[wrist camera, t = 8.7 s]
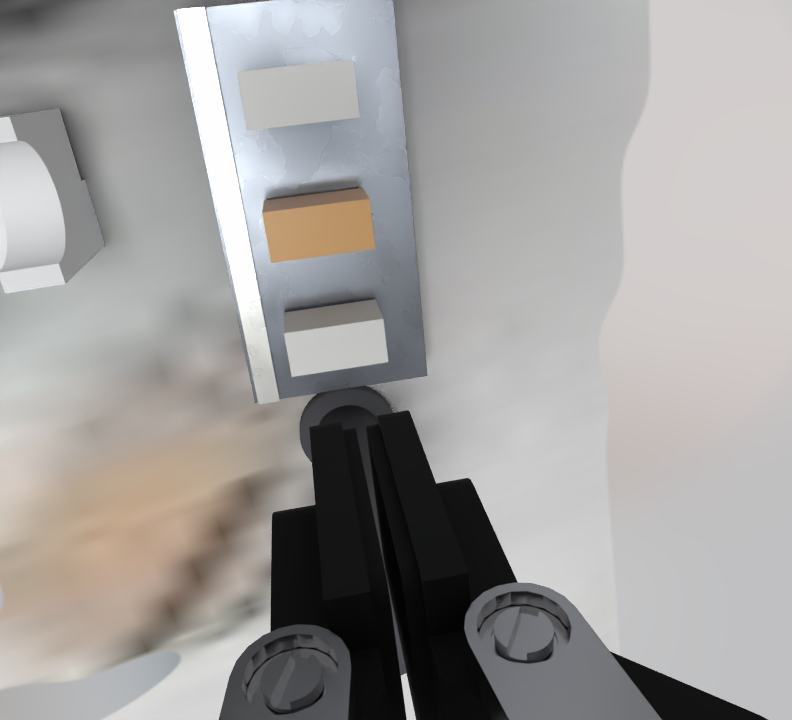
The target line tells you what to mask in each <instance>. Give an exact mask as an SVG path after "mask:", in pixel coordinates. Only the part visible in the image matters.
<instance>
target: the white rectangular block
mask: <svg viewBox="0 0 792 720" xmlns="http://www.w3.org/2000/svg"><path fill="white" fill-rule="evenodd" d="M284 337H285V343H286V348H287V354H288V359H289V365H290V370H291V376H292V377H295V376H302V375H308V374H315V373H321V372H328V371H334V370H341V369H347V368H354V367H360V366H367V365H373V364H379V363H386V362H388V355H387V346H386V337H385V329H384V320H383V317H382V314H381V312H380V309H379V306H378V304H377V301H376V299H373V300H366V301H360V302H353V303H346V304H339V305H332V306H325V307H318V308H311V309H304V310H297V311H291V312H284Z"/></svg>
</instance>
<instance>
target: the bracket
mask: <svg viewBox="0 0 792 720" xmlns="http://www.w3.org/2000/svg"><path fill="white" fill-rule="evenodd" d="M104 246H105V243H104V240H103V237H102V233H101V230H100V227H99V223H98V220H97V217H96V214H95V210H94V207H93V204H92V200H91V197H90V194H89V191H88V187H87V184H86V181H85V179H84V180H81V178H80V175H79V171H78V168H77V165H76V162H75V158H74V155H73V152H72V148H71V145H70V142H69V139H68V135H67V132H66V129H65V126H64V122H63V119H62V116H61V112H60V109H59V108H58V109H50V110H43V111H36V112H28V113H21V114H14V115H6V116H0V281H1V283H2V286H3V289H4V291H5V293H11V292H18V291H24V290H30V289H37V288H43V287H49V286H55V285H62V284H66V283H67V282H68V281H69V280H70V279H71V278H72V277H73V276H74V275H75V274H76V273H77V272H78V271H79V270H80V269H81V268H83V267H84V266H85V265H86V264H87V263H88V262H89V261H90V260H91V259H92V258H93V257H94V256H95V255H96V254H97V253H98V252H99V251H100V250H101V249H102V248H103V247H104Z"/></svg>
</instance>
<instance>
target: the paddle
mask: <svg viewBox="0 0 792 720" xmlns="http://www.w3.org/2000/svg"><path fill="white" fill-rule="evenodd" d="M237 77H238V83H239V88H240V94H241V99H242V105H243V110H244V116H245V122H246V127H247V131H250V130H259V129H267V128H276V127H284V126H292V125H301V124H309V123H318V122H326V121H334V120H343V119H351V118H360V113H359V105H358V96H357V87H356V79H355V70H354V61H353V59H347V60H338V61H329V62H320V63H311V64H302V65H293V66H284V67H275V68H266V69H257V70H248V71H239V72H237Z"/></svg>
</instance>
